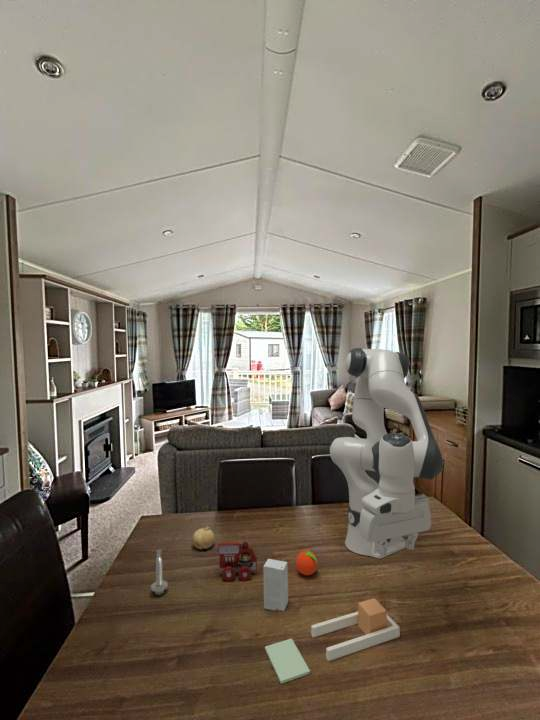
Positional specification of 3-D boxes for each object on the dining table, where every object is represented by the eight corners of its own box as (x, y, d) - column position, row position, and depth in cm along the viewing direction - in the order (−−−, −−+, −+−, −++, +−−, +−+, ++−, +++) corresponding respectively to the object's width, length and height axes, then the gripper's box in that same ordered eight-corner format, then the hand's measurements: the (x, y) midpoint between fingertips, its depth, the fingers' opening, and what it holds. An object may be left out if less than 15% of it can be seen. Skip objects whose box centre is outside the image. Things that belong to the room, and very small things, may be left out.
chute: (378, 616, 100) (378, 605, 100) (399, 639, 92) (399, 627, 92) (311, 637, 93) (311, 625, 93) (328, 664, 85) (328, 651, 85)
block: (374, 620, 98) (374, 598, 97) (386, 634, 93) (386, 610, 93) (358, 625, 96) (358, 602, 96) (369, 639, 91) (369, 615, 91)
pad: (302, 637, 93) (302, 634, 93) (322, 669, 84) (322, 666, 84) (264, 649, 89) (264, 646, 89) (280, 683, 80) (280, 681, 80)
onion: (207, 554, 131) (207, 534, 131) (188, 550, 134) (187, 530, 134) (218, 542, 139) (218, 524, 139) (199, 539, 141) (199, 521, 141)
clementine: (324, 574, 119) (324, 552, 119) (311, 584, 114) (311, 561, 114) (304, 564, 124) (304, 543, 124) (291, 573, 119) (291, 552, 119)
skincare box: (288, 603, 105) (288, 561, 105) (284, 613, 101) (283, 570, 101) (268, 598, 107) (267, 557, 107) (263, 608, 103) (262, 566, 103)
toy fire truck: (257, 580, 116) (256, 547, 116) (217, 582, 115) (216, 549, 115) (257, 567, 123) (256, 536, 123) (219, 569, 122) (218, 537, 122)
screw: (148, 592, 111) (162, 585, 114) (155, 600, 107) (171, 592, 111) (147, 549, 110) (162, 543, 114) (155, 555, 107) (170, 549, 110)
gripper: (419, 488, 103) (419, 538, 103) (356, 499, 95) (356, 552, 96) (437, 497, 97) (436, 549, 97) (370, 509, 90) (370, 566, 90)
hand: (396, 551), depth 96 cm, fingers open, 7 cm apart
